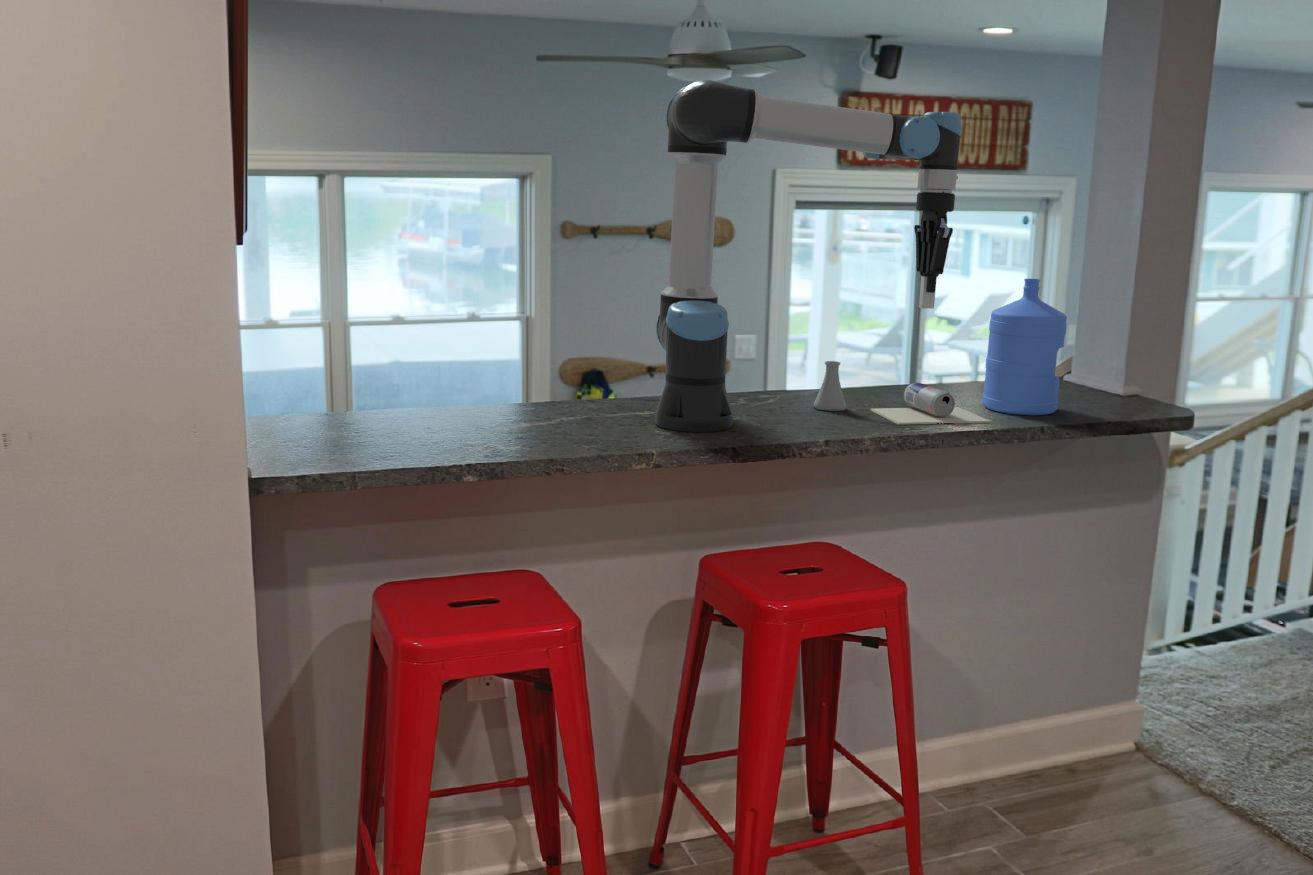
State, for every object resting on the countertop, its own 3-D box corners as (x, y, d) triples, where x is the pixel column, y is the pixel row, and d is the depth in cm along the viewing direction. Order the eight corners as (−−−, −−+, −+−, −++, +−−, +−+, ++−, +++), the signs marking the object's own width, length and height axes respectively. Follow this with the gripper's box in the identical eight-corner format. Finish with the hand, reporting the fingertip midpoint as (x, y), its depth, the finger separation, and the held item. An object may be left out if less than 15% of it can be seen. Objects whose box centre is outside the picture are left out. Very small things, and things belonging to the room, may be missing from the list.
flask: (845, 406, 238) (848, 360, 236) (848, 412, 231) (851, 365, 229) (812, 404, 239) (814, 358, 237) (813, 411, 232) (816, 364, 230)
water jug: (1013, 418, 230) (1027, 283, 224) (966, 403, 244) (978, 276, 238) (1073, 414, 236) (1088, 282, 229) (1024, 400, 250) (1036, 275, 244)
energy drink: (928, 388, 237) (960, 399, 226) (917, 410, 238) (947, 422, 227) (910, 377, 236) (940, 388, 224) (898, 400, 236) (928, 411, 225)
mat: (898, 424, 221) (898, 422, 220) (870, 410, 234) (870, 408, 234) (989, 422, 225) (989, 420, 225) (957, 408, 238) (957, 407, 238)
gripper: (968, 192, 218) (957, 311, 224) (938, 191, 231) (929, 304, 236) (933, 191, 217) (923, 311, 222) (905, 190, 229) (896, 304, 235)
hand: (926, 307), depth 229 cm, fingers closed
